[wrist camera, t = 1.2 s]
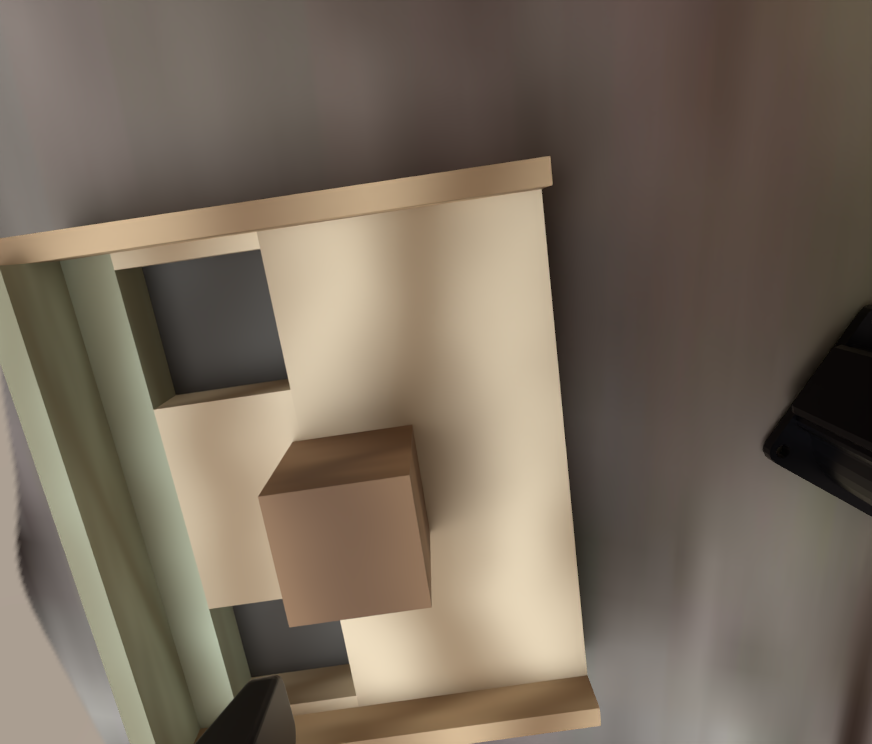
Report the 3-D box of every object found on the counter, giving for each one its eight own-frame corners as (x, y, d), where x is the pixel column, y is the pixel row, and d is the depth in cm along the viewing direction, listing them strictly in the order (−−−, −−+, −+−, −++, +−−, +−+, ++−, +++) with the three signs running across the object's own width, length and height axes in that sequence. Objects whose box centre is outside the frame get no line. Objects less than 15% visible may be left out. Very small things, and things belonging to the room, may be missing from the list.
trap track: (527, 170, 19) (558, 150, 14) (574, 653, 23) (610, 751, 19) (66, 239, 19) (-42, 240, 14) (204, 704, 23) (153, 813, 19)
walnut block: (412, 424, 18) (409, 475, 15) (429, 532, 19) (431, 607, 16) (292, 441, 19) (257, 496, 15) (315, 548, 19) (289, 627, 16)
